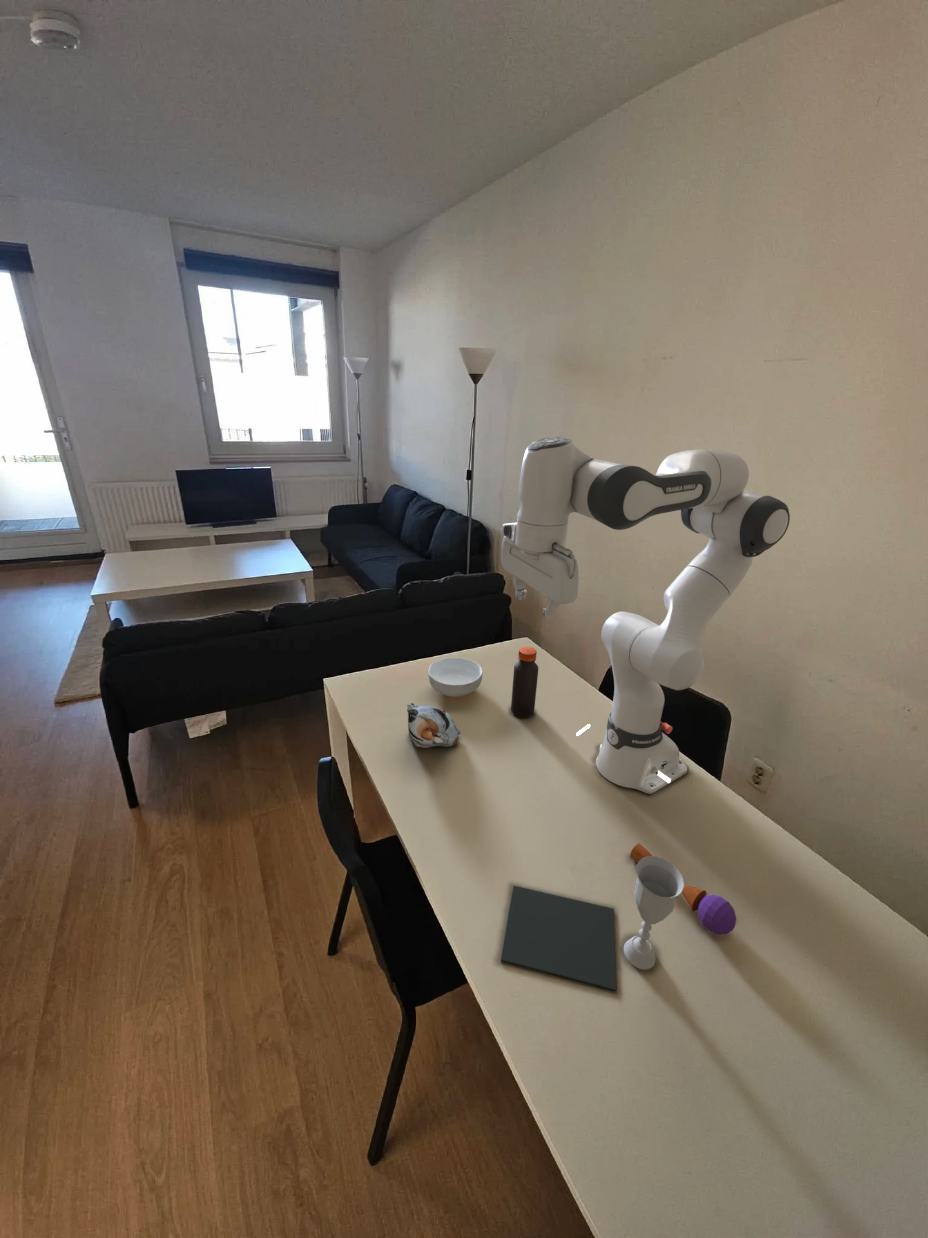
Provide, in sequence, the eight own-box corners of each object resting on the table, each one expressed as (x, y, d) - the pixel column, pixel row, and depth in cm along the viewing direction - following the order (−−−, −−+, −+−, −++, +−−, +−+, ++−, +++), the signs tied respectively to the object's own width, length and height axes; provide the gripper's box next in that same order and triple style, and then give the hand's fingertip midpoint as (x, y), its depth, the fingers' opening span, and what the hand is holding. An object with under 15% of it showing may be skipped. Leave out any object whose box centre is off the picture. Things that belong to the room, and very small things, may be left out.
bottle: (538, 711, 147) (544, 650, 139) (525, 721, 143) (531, 658, 135) (519, 702, 152) (524, 642, 144) (506, 711, 147) (510, 650, 139)
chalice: (664, 981, 79) (688, 902, 72) (619, 971, 81) (638, 892, 73) (657, 937, 86) (678, 860, 79) (616, 928, 87) (633, 852, 80)
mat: (613, 910, 90) (613, 908, 90) (615, 991, 78) (616, 990, 78) (513, 887, 94) (513, 885, 94) (500, 961, 81) (500, 959, 81)
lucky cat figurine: (469, 740, 134) (464, 716, 123) (433, 770, 130) (424, 747, 119) (435, 703, 142) (427, 677, 131) (400, 730, 138) (389, 705, 127)
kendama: (648, 834, 101) (747, 907, 85) (641, 859, 103) (737, 935, 87) (629, 842, 98) (728, 919, 82) (622, 868, 99) (718, 949, 84)
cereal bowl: (426, 676, 164) (427, 657, 161) (477, 675, 166) (478, 656, 163) (429, 705, 148) (429, 685, 146) (485, 703, 150) (486, 683, 148)
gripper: (592, 551, 81) (581, 627, 87) (525, 520, 98) (520, 586, 104) (560, 555, 79) (551, 634, 85) (497, 523, 95) (493, 591, 101)
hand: (533, 607), depth 94 cm, fingers open, 8 cm apart
